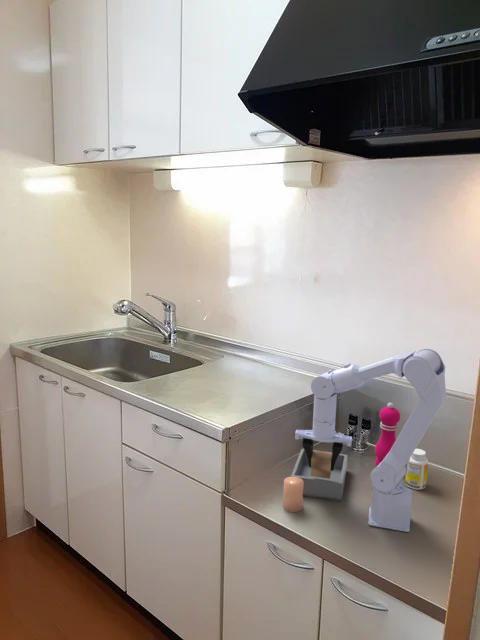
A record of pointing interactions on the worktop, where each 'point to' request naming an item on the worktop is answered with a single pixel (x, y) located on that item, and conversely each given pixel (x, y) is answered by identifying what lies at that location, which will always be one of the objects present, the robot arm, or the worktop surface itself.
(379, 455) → the pepper mill
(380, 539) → the worktop surface
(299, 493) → the terracotta cylinder
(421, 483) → the supplement bottle
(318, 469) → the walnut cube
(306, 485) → the gray tote
